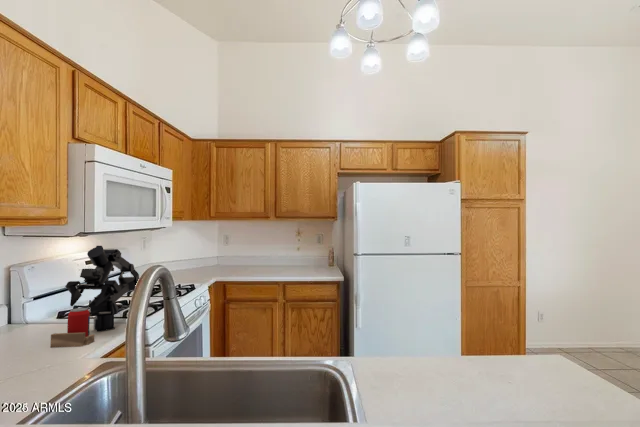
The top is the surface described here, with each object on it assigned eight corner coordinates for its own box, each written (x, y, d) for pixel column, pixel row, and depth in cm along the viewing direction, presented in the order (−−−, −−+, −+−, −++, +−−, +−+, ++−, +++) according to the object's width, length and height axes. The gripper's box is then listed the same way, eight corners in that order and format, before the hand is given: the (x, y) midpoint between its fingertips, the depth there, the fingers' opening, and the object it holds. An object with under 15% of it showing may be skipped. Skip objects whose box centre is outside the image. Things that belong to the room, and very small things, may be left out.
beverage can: (93, 339, 128) (94, 307, 129) (79, 344, 121) (80, 311, 122) (77, 338, 129) (78, 307, 130) (62, 344, 122) (63, 311, 123)
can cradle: (60, 342, 124) (60, 330, 125) (94, 341, 125) (94, 329, 125) (48, 347, 119) (48, 334, 119) (84, 346, 119) (84, 333, 120)
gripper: (69, 261, 134) (47, 293, 123) (116, 260, 135) (99, 292, 124) (81, 278, 142) (62, 310, 130) (126, 277, 143) (111, 309, 131)
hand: (83, 305), depth 129 cm, fingers open, 9 cm apart
